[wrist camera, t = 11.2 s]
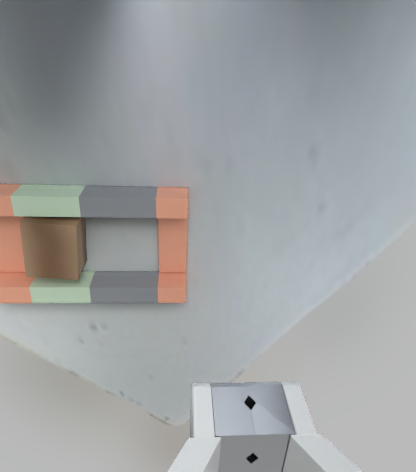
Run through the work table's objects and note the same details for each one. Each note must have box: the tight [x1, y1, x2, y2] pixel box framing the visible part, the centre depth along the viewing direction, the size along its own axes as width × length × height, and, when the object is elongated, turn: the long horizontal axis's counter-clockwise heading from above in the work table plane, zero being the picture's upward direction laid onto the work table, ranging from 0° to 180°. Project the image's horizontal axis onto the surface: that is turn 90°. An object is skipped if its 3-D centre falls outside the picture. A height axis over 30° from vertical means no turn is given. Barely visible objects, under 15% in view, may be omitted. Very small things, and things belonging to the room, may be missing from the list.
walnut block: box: [20, 216, 87, 280], centre depth 39 cm, size 5×6×4 cm
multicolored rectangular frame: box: [0, 184, 188, 303], centre depth 40 cm, size 20×12×3 cm, turn 87°
